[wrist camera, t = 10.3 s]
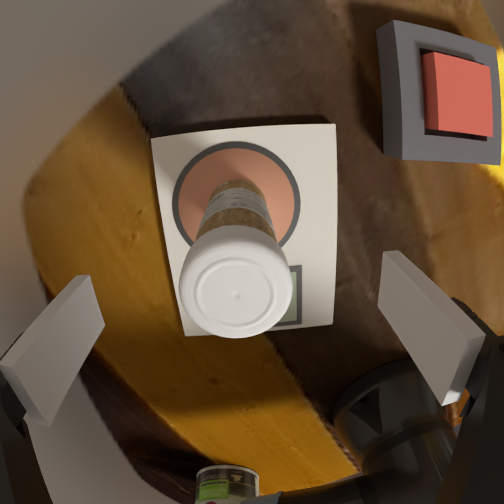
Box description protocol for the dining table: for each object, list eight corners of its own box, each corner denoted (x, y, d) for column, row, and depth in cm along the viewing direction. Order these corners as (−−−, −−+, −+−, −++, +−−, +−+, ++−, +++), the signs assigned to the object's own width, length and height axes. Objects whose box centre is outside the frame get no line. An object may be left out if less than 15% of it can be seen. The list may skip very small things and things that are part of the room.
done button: (471, 133, 22) (492, 137, 19) (418, 127, 22) (438, 130, 19) (468, 69, 19) (489, 66, 17) (414, 57, 19) (433, 51, 17)
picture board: (330, 318, 30) (332, 324, 29) (186, 329, 30) (185, 337, 29) (331, 123, 23) (335, 124, 22) (154, 137, 23) (150, 138, 22)
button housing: (477, 159, 24) (500, 165, 21) (383, 154, 24) (402, 159, 21) (473, 51, 20) (495, 48, 17) (375, 29, 20) (393, 19, 17)
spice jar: (232, 244, 26) (225, 358, 13) (196, 200, 24) (152, 285, 12) (278, 211, 25) (316, 305, 13) (243, 164, 23) (247, 215, 11)
